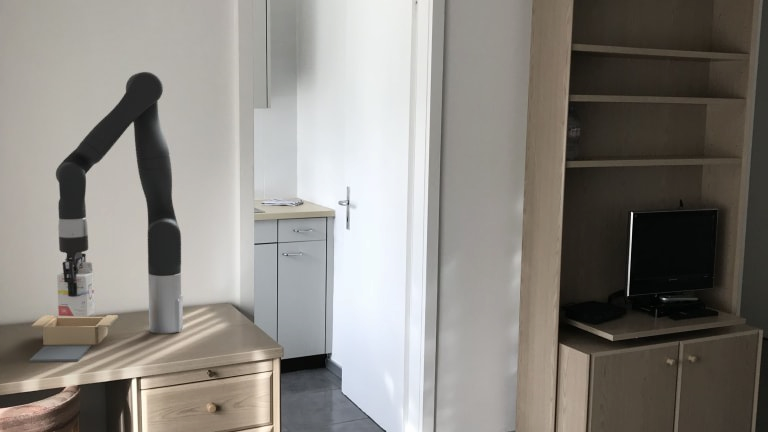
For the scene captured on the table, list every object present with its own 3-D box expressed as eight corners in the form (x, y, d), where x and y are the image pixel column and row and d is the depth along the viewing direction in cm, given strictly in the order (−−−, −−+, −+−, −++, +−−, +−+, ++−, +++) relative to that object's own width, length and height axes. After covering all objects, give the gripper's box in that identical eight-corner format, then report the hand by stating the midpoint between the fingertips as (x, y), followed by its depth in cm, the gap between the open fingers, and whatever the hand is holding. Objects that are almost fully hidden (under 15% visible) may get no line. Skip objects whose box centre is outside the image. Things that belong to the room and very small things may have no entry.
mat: (90, 347, 215) (90, 345, 215) (78, 361, 203) (78, 359, 203) (45, 347, 214) (45, 345, 214) (29, 361, 202) (29, 359, 202)
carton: (118, 333, 228) (118, 315, 228) (109, 344, 218) (108, 325, 217) (44, 333, 226) (44, 315, 226) (32, 344, 216) (31, 325, 215)
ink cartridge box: (57, 316, 219) (55, 264, 217) (66, 311, 224) (64, 260, 222) (87, 317, 218) (85, 265, 216) (95, 312, 223) (93, 261, 221)
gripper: (79, 238, 211) (82, 299, 214) (94, 230, 226) (96, 287, 228) (50, 238, 211) (54, 300, 213) (67, 230, 225) (69, 288, 227)
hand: (75, 293), depth 220 cm, fingers closed on ink cartridge box, 5 cm apart
